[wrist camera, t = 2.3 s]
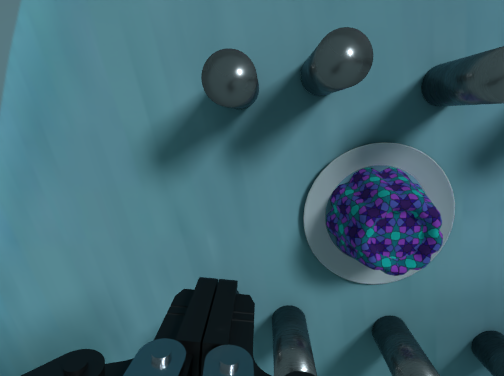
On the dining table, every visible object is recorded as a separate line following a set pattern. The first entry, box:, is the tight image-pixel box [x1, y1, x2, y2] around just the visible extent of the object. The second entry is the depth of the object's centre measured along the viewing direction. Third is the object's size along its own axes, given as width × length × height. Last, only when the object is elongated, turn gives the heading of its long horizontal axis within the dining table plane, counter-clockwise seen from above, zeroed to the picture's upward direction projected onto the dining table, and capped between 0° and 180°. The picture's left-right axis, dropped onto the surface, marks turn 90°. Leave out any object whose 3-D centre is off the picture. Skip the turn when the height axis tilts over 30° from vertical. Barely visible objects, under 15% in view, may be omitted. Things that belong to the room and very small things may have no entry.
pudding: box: [303, 142, 455, 284], centre depth 23 cm, size 12×12×5 cm
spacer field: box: [202, 27, 504, 376], centre depth 22 cm, size 27×25×7 cm
